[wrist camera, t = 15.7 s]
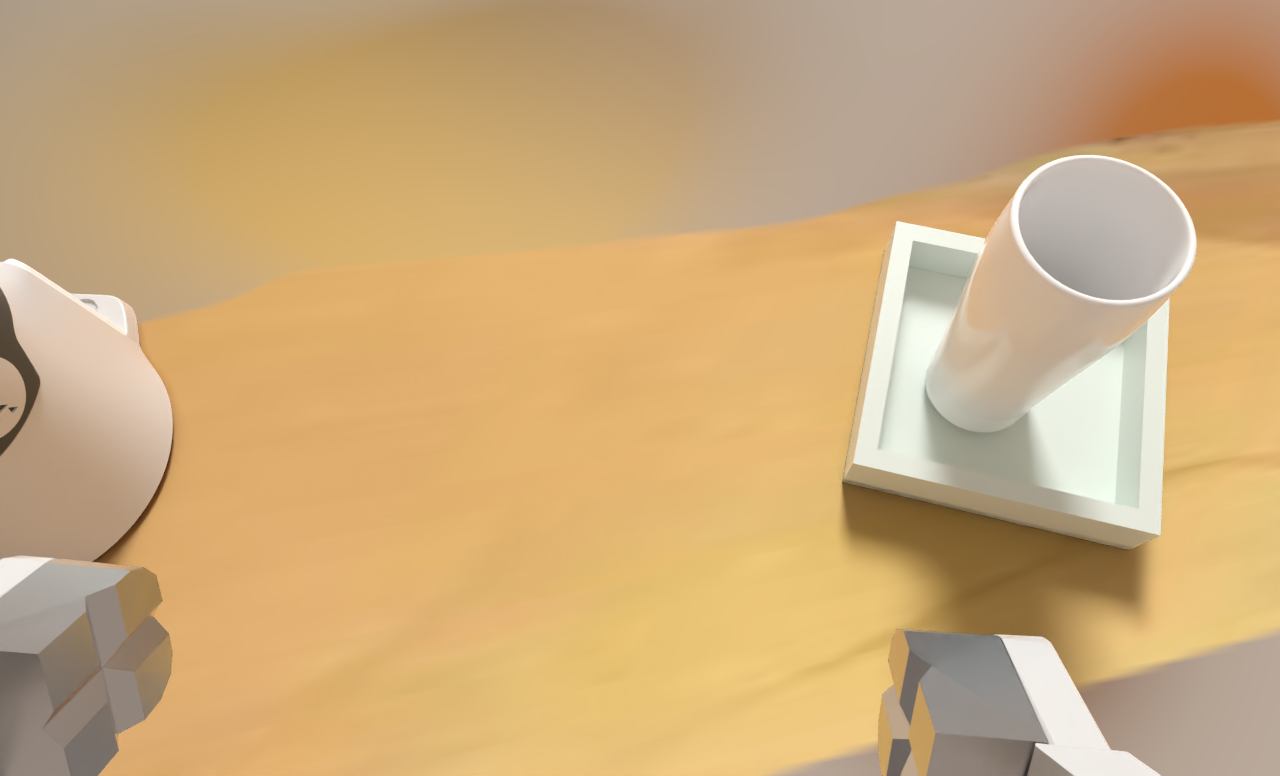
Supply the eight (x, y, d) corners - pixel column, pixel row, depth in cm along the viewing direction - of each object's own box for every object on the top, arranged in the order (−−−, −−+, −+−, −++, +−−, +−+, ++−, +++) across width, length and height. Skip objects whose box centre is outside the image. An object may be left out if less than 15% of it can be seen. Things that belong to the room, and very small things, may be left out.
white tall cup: (890, 343, 47) (982, 168, 33) (1012, 319, 48) (1152, 136, 34) (932, 462, 45) (1050, 325, 31) (1061, 435, 45) (1235, 288, 31)
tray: (841, 482, 45) (853, 463, 42) (884, 251, 50) (896, 221, 47) (1129, 550, 43) (1160, 535, 40) (1141, 303, 48) (1170, 275, 46)
